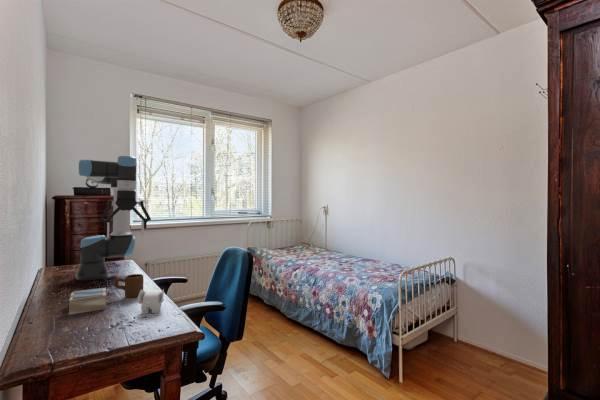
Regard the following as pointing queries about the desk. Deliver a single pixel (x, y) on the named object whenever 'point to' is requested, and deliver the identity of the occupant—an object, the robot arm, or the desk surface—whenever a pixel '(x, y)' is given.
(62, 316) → the desk surface
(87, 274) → the robot arm
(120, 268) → the desk surface
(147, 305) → the elephant figurine
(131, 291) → the mug
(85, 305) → the plinth
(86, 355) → the desk surface
